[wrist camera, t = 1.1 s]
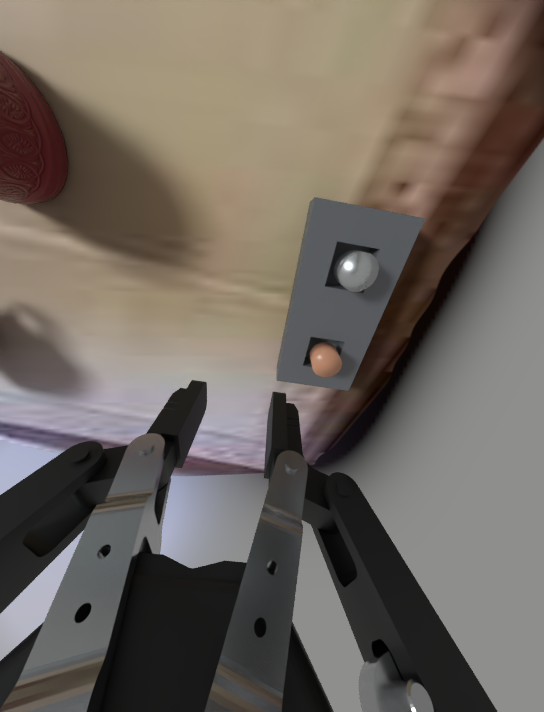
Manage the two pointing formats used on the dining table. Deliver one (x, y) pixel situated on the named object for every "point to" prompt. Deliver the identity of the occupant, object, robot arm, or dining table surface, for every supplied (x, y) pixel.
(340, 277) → the steel button
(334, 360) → the terracotta button
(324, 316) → the button panel
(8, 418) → the dining table surface
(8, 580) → the robot arm
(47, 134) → the canister
